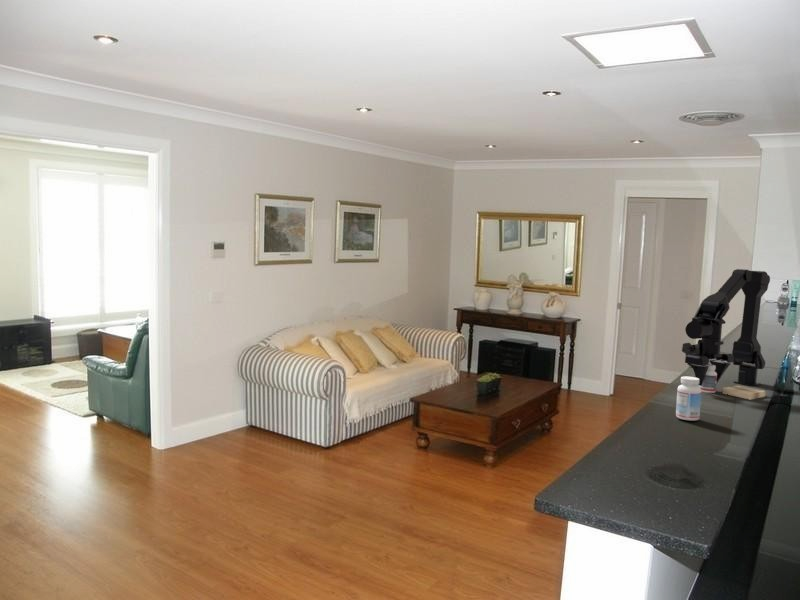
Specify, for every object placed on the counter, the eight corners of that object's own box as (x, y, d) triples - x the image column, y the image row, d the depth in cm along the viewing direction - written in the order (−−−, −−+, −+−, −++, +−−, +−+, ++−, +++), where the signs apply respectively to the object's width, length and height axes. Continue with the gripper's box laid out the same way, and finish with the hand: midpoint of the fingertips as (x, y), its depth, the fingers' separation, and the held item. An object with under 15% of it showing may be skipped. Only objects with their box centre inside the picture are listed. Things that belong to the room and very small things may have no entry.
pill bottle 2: (717, 393, 208) (719, 367, 207) (700, 392, 209) (702, 365, 208) (713, 390, 213) (715, 364, 212) (696, 389, 214) (698, 362, 213)
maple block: (737, 392, 213) (738, 385, 212) (765, 398, 205) (765, 391, 205) (722, 395, 208) (723, 387, 208) (750, 401, 200) (750, 393, 200)
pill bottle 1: (698, 416, 177) (701, 377, 176) (700, 422, 171) (703, 381, 170) (674, 414, 179) (677, 374, 178) (676, 419, 173) (679, 378, 172)
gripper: (705, 332, 221) (701, 377, 222) (671, 335, 211) (668, 381, 212) (736, 337, 212) (732, 383, 213) (703, 340, 202) (699, 388, 203)
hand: (707, 384), depth 211 cm, fingers open, 9 cm apart
